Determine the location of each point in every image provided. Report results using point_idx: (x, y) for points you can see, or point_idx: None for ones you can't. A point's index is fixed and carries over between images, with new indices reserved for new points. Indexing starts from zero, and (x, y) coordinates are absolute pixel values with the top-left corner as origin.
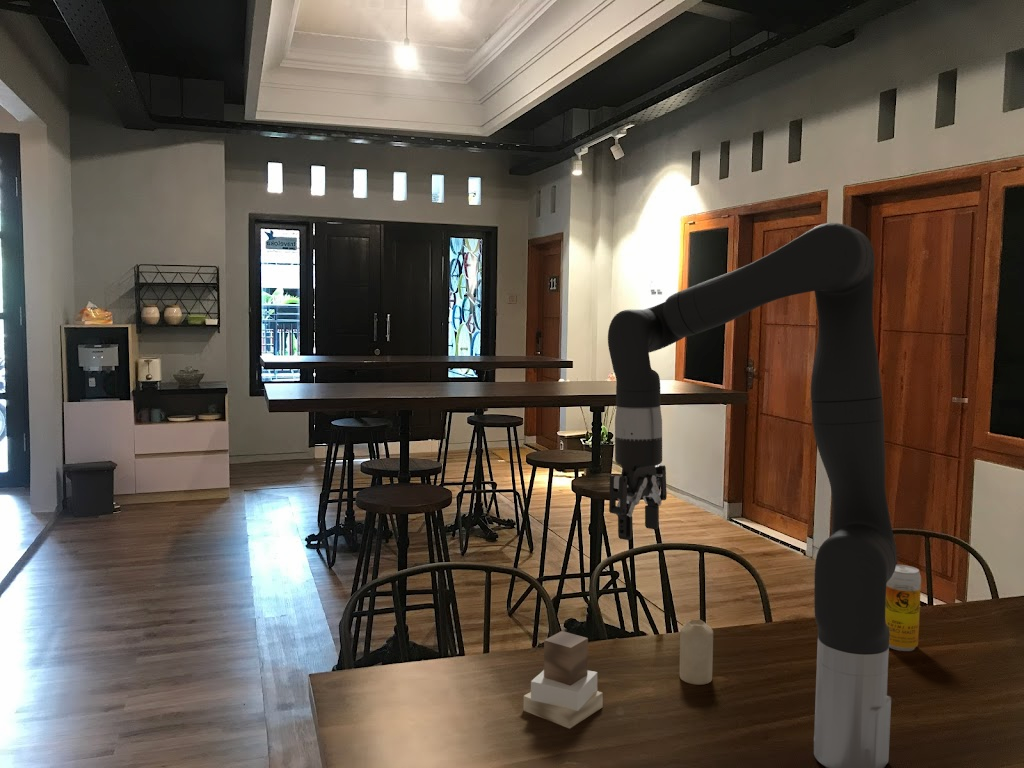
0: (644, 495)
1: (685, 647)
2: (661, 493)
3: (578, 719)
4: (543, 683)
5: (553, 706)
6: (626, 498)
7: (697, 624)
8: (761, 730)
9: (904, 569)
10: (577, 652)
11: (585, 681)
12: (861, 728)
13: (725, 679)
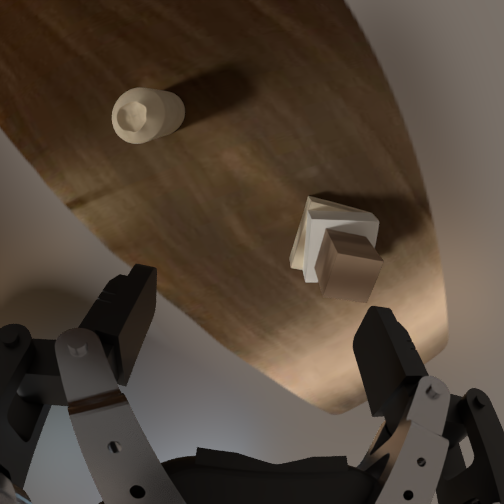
0: (271, 466)
1: (169, 124)
2: (21, 374)
3: (357, 209)
4: None
5: None
6: (487, 453)
7: (126, 117)
8: (276, 5)
9: None
10: (362, 252)
11: (347, 223)
12: None
13: (147, 78)
